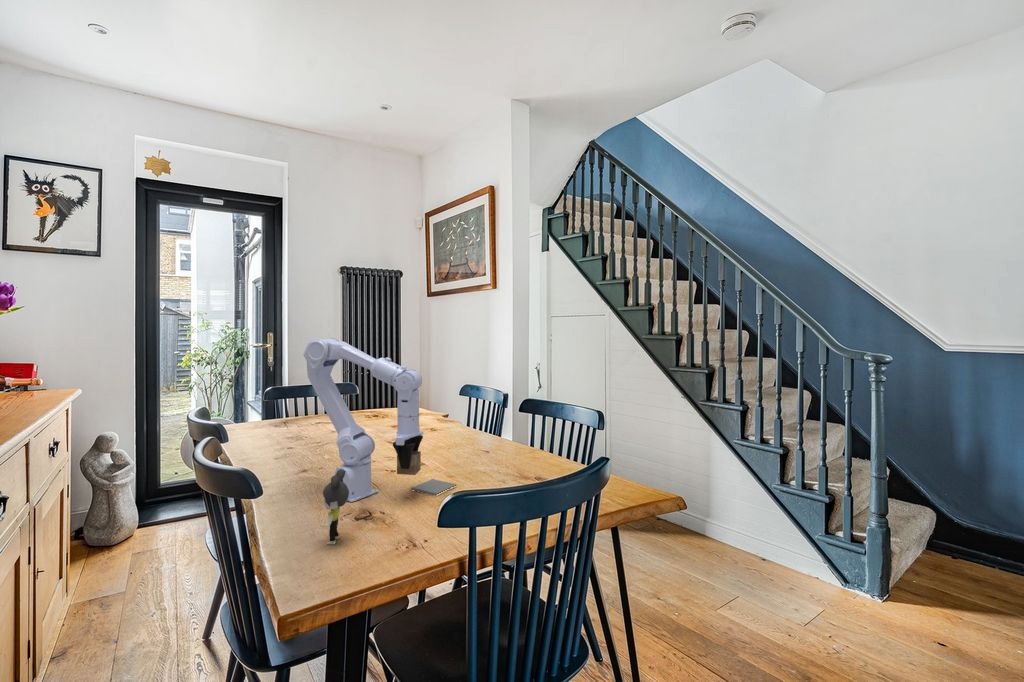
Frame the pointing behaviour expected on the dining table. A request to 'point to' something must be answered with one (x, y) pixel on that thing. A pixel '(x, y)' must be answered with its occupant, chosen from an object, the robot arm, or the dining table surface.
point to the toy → (335, 502)
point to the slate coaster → (433, 486)
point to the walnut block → (411, 464)
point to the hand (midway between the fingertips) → (408, 465)
